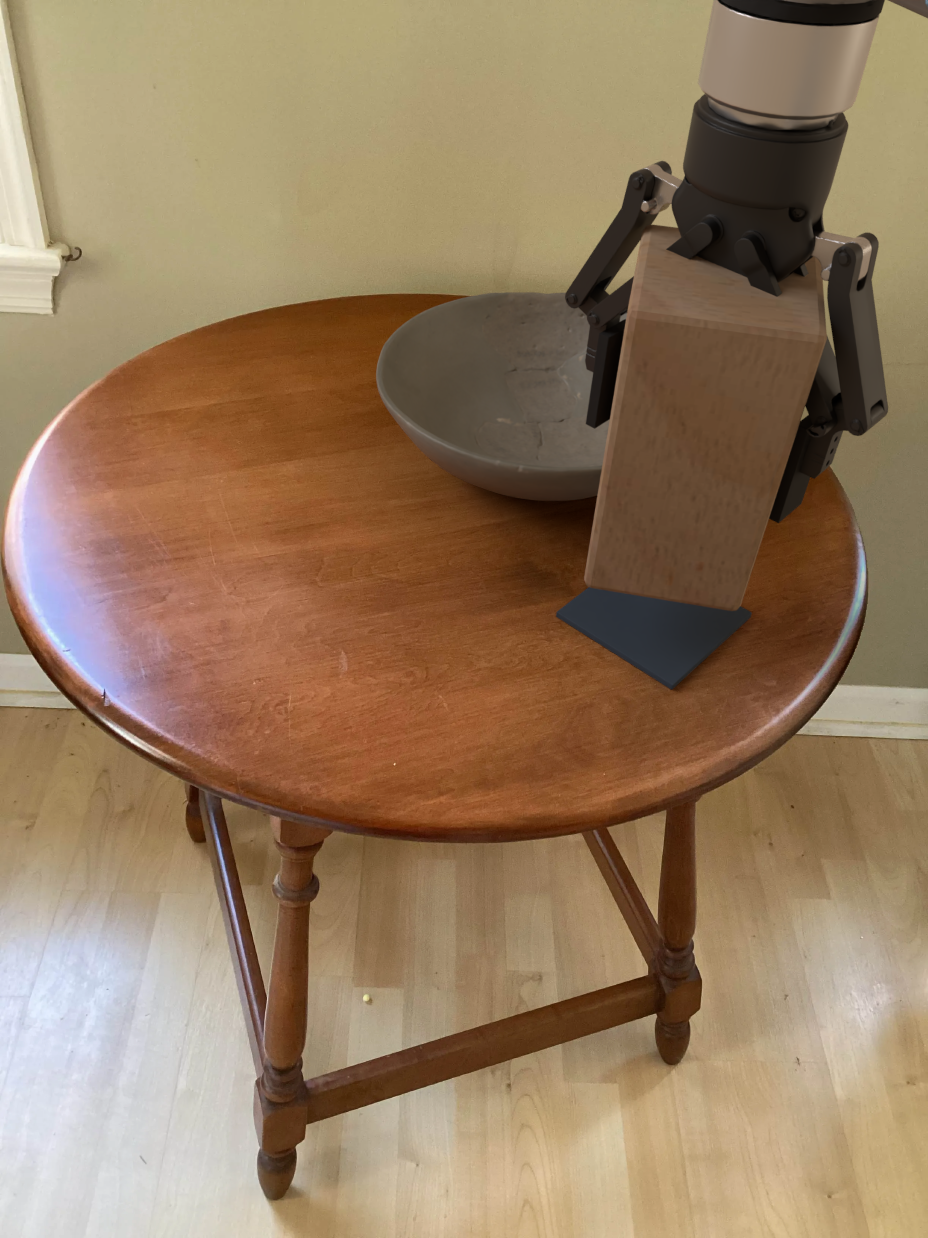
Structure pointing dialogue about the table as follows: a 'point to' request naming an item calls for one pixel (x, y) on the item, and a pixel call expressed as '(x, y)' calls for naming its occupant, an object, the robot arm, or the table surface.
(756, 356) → the wooden block
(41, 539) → the table surface
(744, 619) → the mat
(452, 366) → the bowl
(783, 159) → the robot arm
